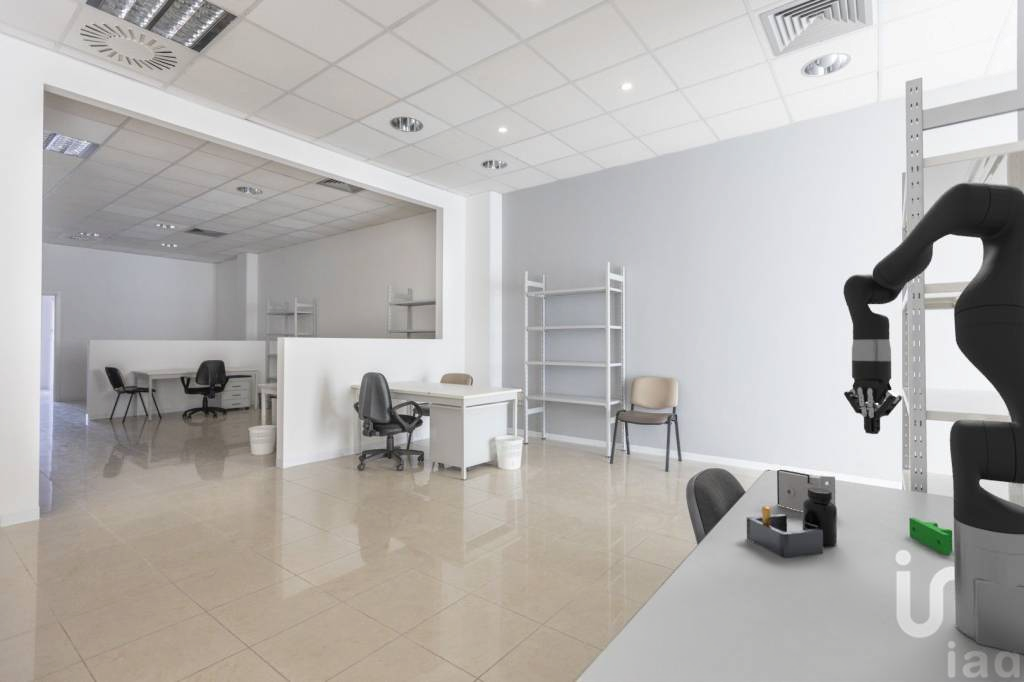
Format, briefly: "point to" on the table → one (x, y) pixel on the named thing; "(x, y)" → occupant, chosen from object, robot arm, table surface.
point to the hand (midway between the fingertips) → (871, 433)
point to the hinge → (800, 487)
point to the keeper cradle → (783, 536)
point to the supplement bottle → (821, 514)
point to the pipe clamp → (931, 535)
